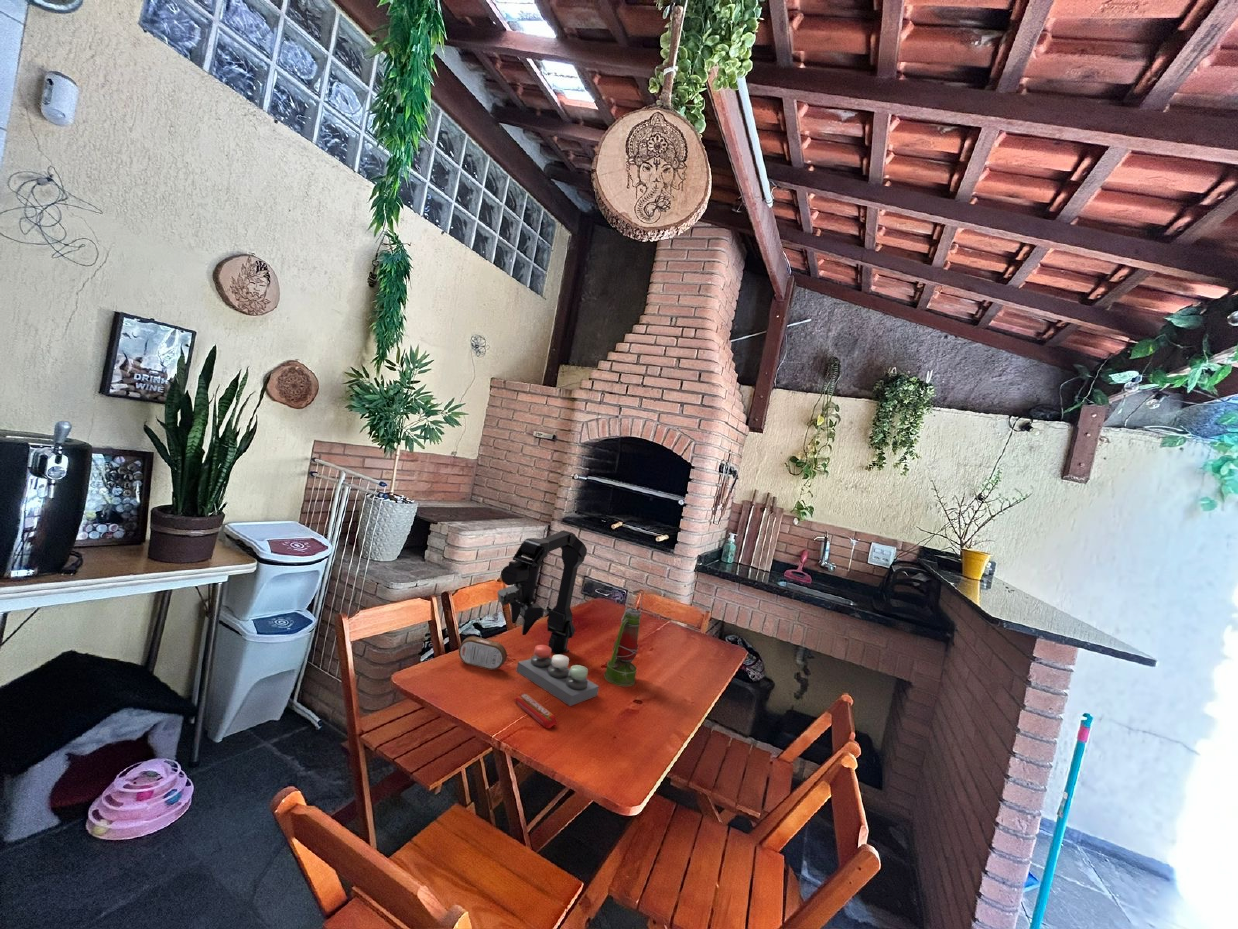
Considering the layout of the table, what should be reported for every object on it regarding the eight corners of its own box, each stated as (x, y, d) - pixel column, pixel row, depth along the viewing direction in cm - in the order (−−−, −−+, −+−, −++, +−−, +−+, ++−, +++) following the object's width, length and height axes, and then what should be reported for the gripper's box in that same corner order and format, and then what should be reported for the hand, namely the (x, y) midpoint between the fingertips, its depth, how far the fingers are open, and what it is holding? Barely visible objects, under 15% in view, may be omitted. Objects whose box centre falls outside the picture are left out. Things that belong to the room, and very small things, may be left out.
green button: (577, 670, 160) (579, 663, 160) (590, 677, 157) (591, 670, 157) (566, 673, 156) (567, 667, 156) (578, 681, 153) (579, 674, 153)
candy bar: (511, 703, 146) (513, 692, 146) (522, 700, 148) (524, 689, 148) (547, 732, 135) (549, 721, 135) (558, 728, 138) (560, 717, 137)
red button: (542, 649, 170) (543, 643, 170) (553, 656, 167) (554, 650, 167) (530, 652, 166) (532, 646, 166) (541, 659, 163) (543, 653, 163)
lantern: (619, 690, 165) (637, 598, 164) (594, 676, 172) (611, 587, 171) (644, 680, 176) (661, 593, 175) (619, 667, 183) (636, 584, 182)
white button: (559, 659, 165) (560, 653, 165) (571, 666, 162) (572, 660, 162) (547, 662, 161) (549, 656, 161) (559, 669, 158) (560, 663, 158)
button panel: (544, 663, 174) (546, 650, 174) (597, 695, 159) (600, 681, 159) (516, 671, 165) (518, 657, 164) (569, 706, 150) (572, 691, 149)
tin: (504, 670, 164) (509, 643, 164) (501, 674, 161) (506, 647, 161) (459, 659, 166) (464, 633, 165) (455, 662, 162) (460, 636, 162)
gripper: (493, 570, 166) (484, 617, 166) (513, 589, 150) (503, 642, 151) (526, 571, 172) (517, 617, 172) (548, 590, 156) (539, 641, 157)
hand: (518, 628), depth 163 cm, fingers open, 9 cm apart
